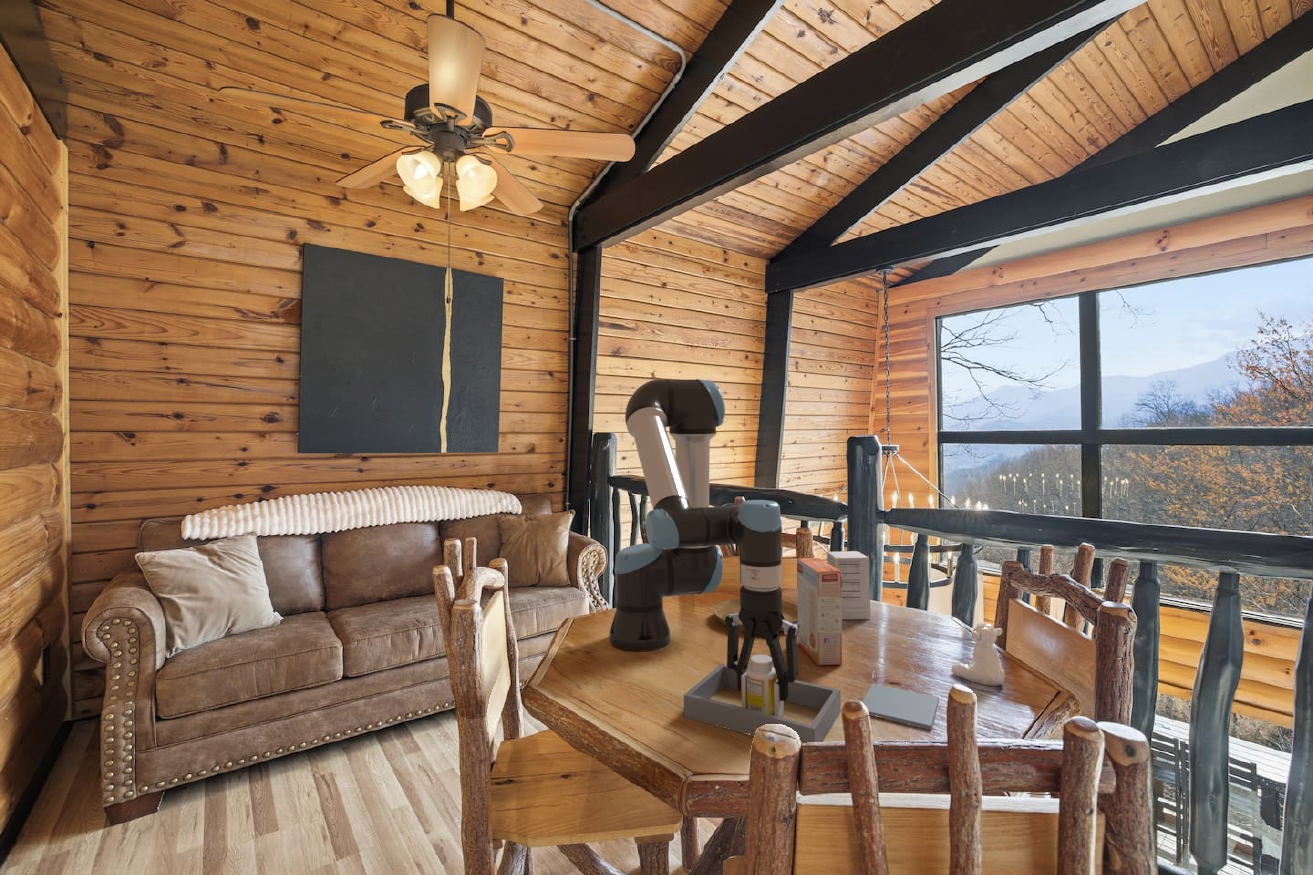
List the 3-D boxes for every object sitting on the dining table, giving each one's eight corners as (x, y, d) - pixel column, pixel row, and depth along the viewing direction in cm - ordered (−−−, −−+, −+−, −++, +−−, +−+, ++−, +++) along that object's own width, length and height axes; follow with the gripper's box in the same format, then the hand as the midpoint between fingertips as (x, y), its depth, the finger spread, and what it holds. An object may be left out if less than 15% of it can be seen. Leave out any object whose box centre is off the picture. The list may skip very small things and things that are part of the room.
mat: (858, 713, 105) (858, 708, 105) (872, 687, 115) (872, 683, 115) (931, 730, 98) (931, 725, 98) (938, 701, 109) (938, 697, 109)
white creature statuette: (990, 669, 123) (990, 613, 123) (1021, 687, 114) (1021, 627, 114) (949, 672, 121) (949, 616, 121) (978, 690, 113) (977, 630, 113)
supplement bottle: (774, 706, 108) (774, 652, 108) (781, 721, 102) (780, 664, 102) (745, 706, 108) (744, 652, 108) (749, 721, 102) (748, 664, 102)
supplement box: (871, 619, 155) (870, 557, 155) (837, 620, 156) (836, 558, 155) (859, 608, 165) (858, 550, 165) (827, 609, 165) (826, 550, 165)
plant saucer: (721, 639, 144) (721, 626, 144) (707, 609, 168) (707, 598, 168) (816, 635, 145) (816, 622, 145) (789, 606, 169) (789, 595, 169)
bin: (683, 716, 105) (683, 694, 104) (721, 683, 118) (721, 663, 118) (815, 753, 92) (815, 729, 92) (840, 711, 106) (840, 689, 105)
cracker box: (844, 665, 126) (842, 570, 126) (817, 666, 125) (815, 571, 125) (821, 642, 140) (820, 556, 140) (797, 643, 139) (796, 557, 139)
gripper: (705, 584, 106) (707, 708, 107) (804, 598, 97) (806, 735, 97) (723, 575, 113) (724, 692, 113) (817, 587, 103) (819, 716, 103)
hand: (762, 712), depth 105 cm, fingers closed on supplement bottle, 5 cm apart
